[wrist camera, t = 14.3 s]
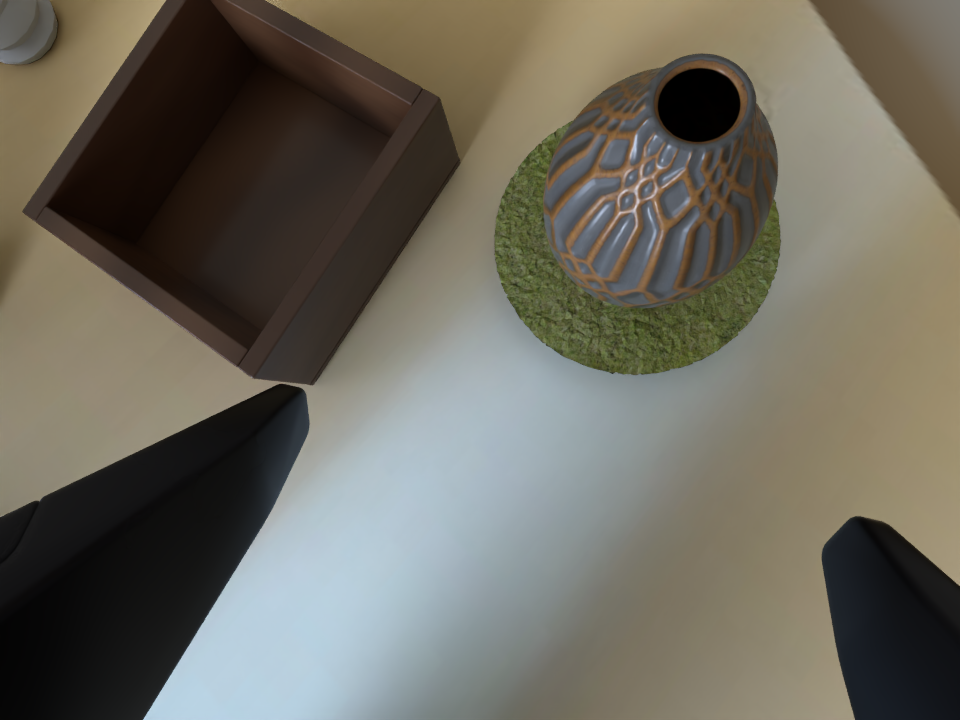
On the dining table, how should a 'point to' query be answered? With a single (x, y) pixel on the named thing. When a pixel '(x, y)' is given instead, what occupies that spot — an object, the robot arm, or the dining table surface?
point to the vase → (661, 183)
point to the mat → (607, 327)
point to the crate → (250, 181)
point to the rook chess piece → (26, 30)
